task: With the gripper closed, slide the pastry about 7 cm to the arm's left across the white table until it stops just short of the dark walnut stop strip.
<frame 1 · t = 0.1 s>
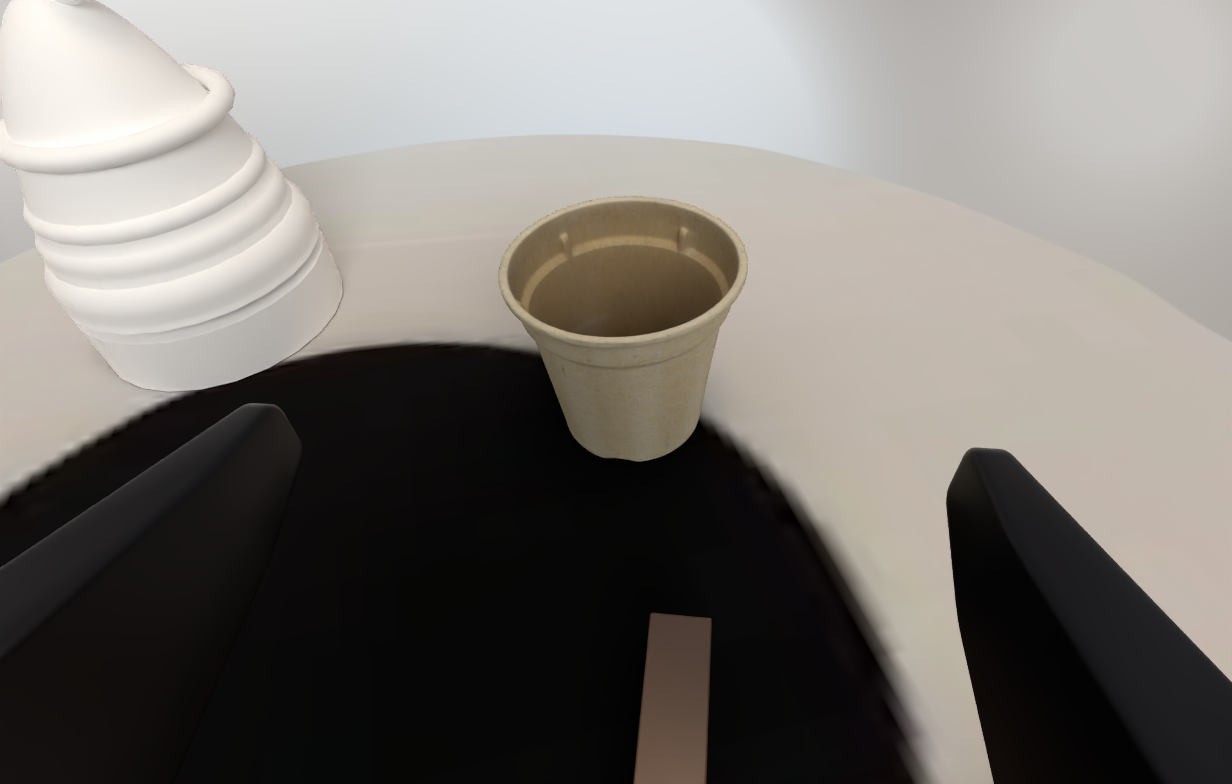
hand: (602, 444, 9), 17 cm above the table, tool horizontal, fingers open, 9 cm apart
honey pot: (230, 314, 39), on the table
flower pot: (631, 415, 32), on the table
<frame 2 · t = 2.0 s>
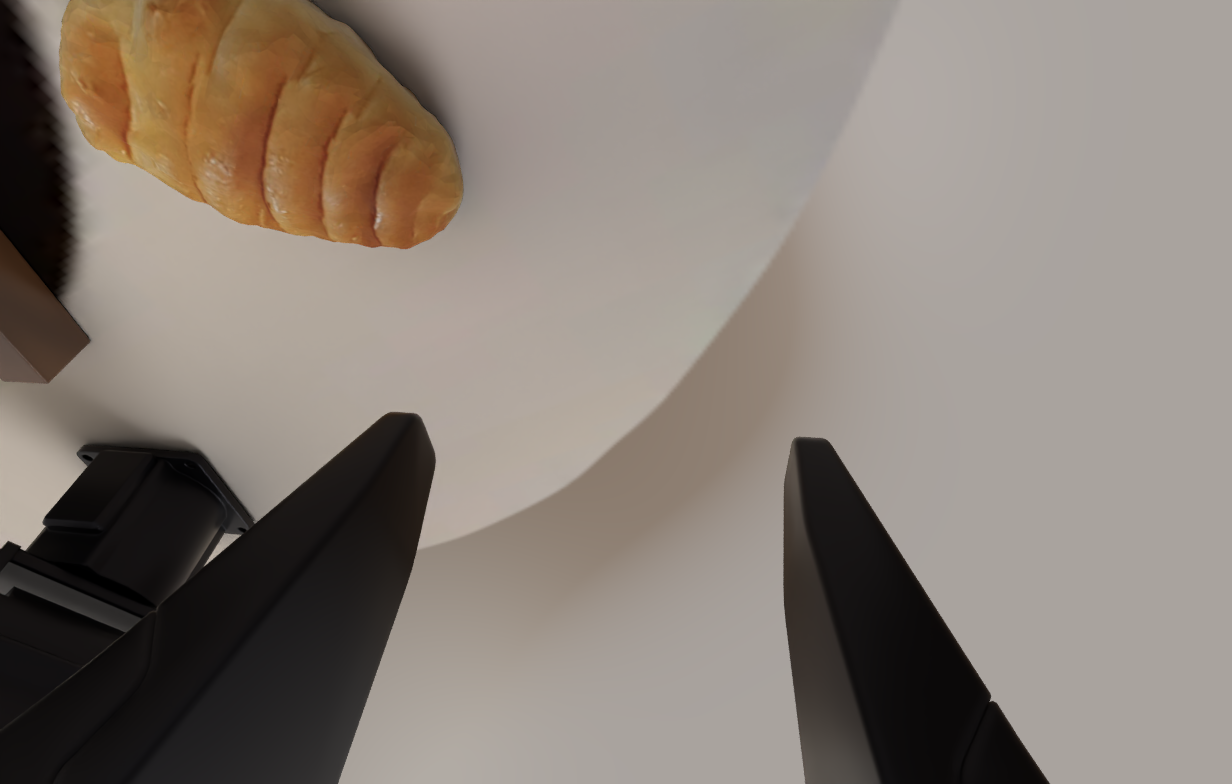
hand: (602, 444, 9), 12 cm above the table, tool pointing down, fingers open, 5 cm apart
pastry: (292, 84, 19), on the table
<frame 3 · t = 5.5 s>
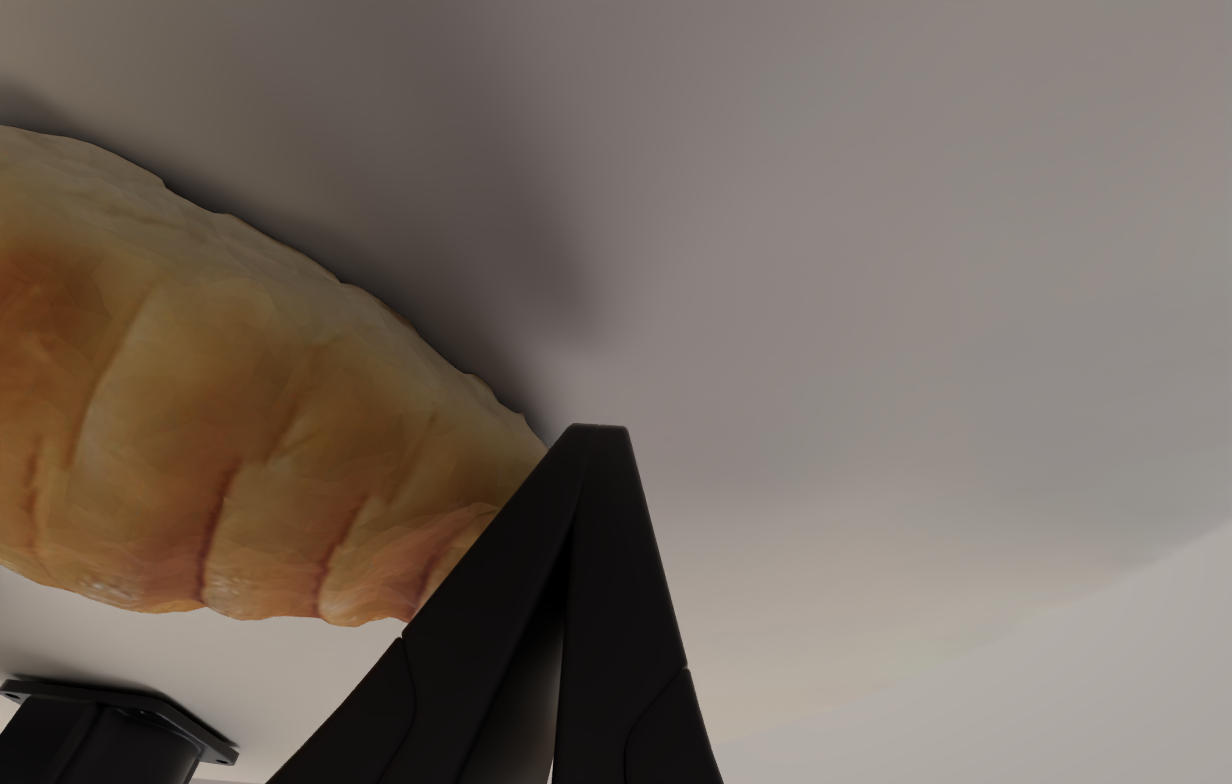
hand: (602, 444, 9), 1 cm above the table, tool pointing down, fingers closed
pastry: (266, 353, 10), on the table, touching gripper
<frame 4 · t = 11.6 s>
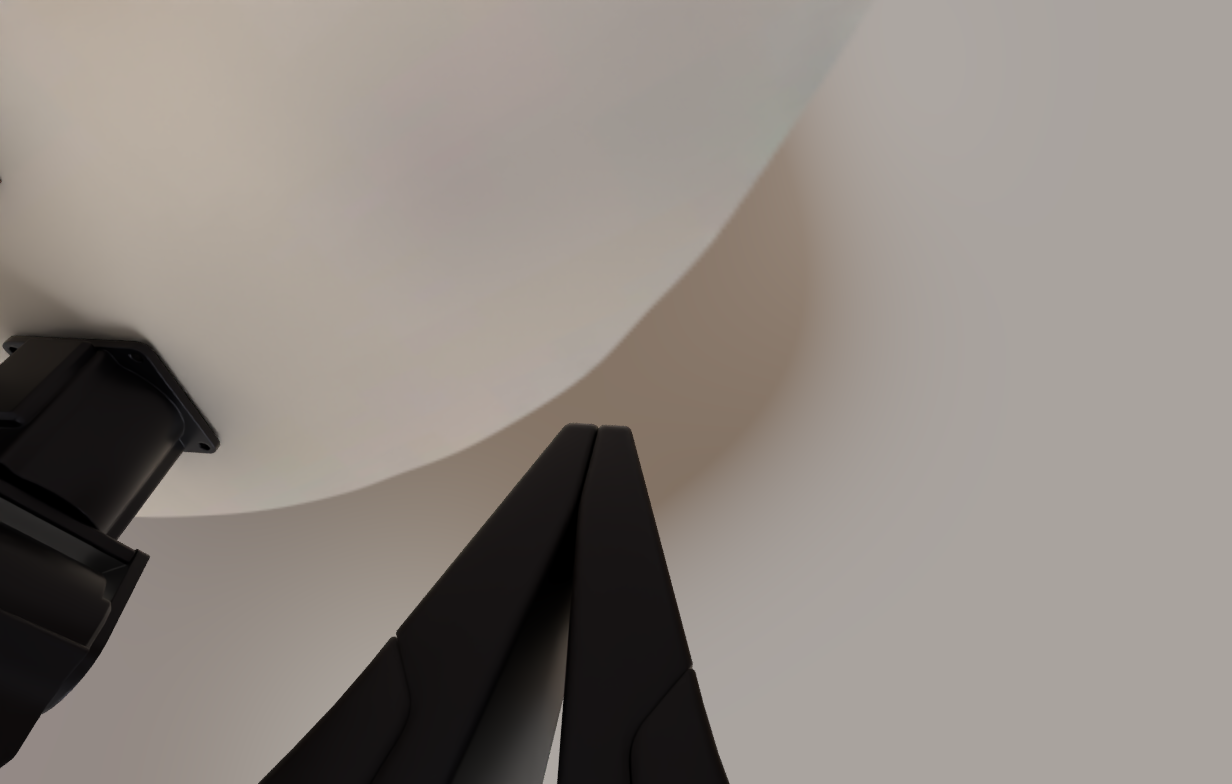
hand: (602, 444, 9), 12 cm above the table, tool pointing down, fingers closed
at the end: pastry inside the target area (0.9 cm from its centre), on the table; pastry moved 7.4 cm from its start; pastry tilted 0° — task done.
